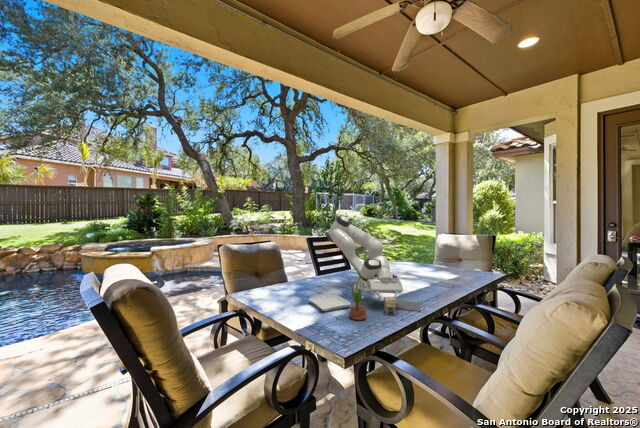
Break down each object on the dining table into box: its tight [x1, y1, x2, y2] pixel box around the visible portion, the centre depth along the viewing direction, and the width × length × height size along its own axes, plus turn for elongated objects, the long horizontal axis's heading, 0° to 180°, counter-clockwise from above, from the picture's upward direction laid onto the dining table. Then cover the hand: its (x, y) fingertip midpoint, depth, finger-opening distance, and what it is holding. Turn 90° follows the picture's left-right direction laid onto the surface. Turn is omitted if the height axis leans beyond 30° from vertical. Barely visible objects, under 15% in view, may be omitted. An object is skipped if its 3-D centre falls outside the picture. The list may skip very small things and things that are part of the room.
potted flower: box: [348, 275, 370, 321], centre depth 163 cm, size 12×10×25 cm
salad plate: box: [308, 293, 352, 312], centre depth 183 cm, size 21×21×3 cm
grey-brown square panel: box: [395, 299, 422, 313], centre depth 183 cm, size 16×16×1 cm
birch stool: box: [383, 295, 398, 316], centre depth 171 cm, size 6×6×9 cm
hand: (387, 298), depth 174 cm, fingers open, 8 cm apart
